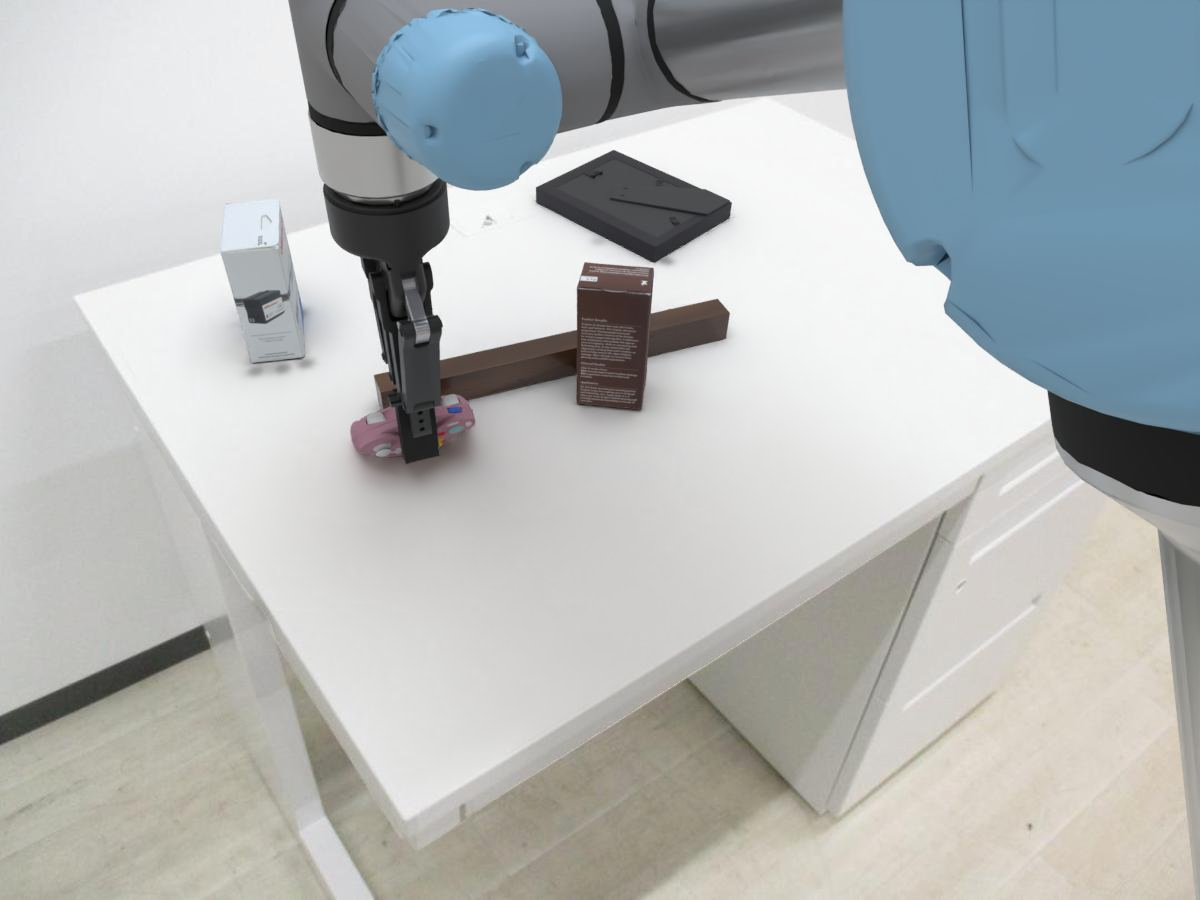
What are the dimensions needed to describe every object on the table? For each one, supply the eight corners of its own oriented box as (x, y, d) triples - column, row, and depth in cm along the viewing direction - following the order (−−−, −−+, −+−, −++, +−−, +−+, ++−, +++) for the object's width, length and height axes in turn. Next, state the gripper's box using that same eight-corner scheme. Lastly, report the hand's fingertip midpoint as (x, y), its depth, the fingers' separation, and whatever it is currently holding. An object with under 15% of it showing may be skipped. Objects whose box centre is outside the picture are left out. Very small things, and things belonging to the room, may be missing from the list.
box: (646, 379, 86) (656, 265, 77) (642, 412, 82) (652, 296, 74) (580, 373, 86) (583, 258, 78) (573, 405, 83) (575, 289, 75)
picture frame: (730, 217, 107) (613, 164, 116) (732, 199, 106) (613, 146, 114) (654, 262, 100) (535, 202, 108) (655, 244, 98) (535, 184, 107)
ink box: (251, 310, 91) (222, 200, 83) (304, 305, 92) (280, 195, 84) (249, 365, 85) (217, 251, 77) (305, 358, 86) (279, 246, 78)
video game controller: (361, 480, 77) (359, 450, 71) (346, 430, 79) (343, 396, 72) (477, 451, 80) (485, 418, 74) (461, 403, 82) (467, 367, 75)
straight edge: (726, 338, 91) (730, 312, 89) (384, 419, 81) (380, 392, 79) (714, 324, 92) (717, 298, 90) (378, 401, 82) (373, 374, 80)
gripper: (474, 216, 55) (492, 497, 71) (416, 124, 64) (444, 394, 80) (345, 239, 53) (393, 524, 69) (302, 140, 61) (355, 414, 77)
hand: (420, 454), depth 74 cm, fingers closed
